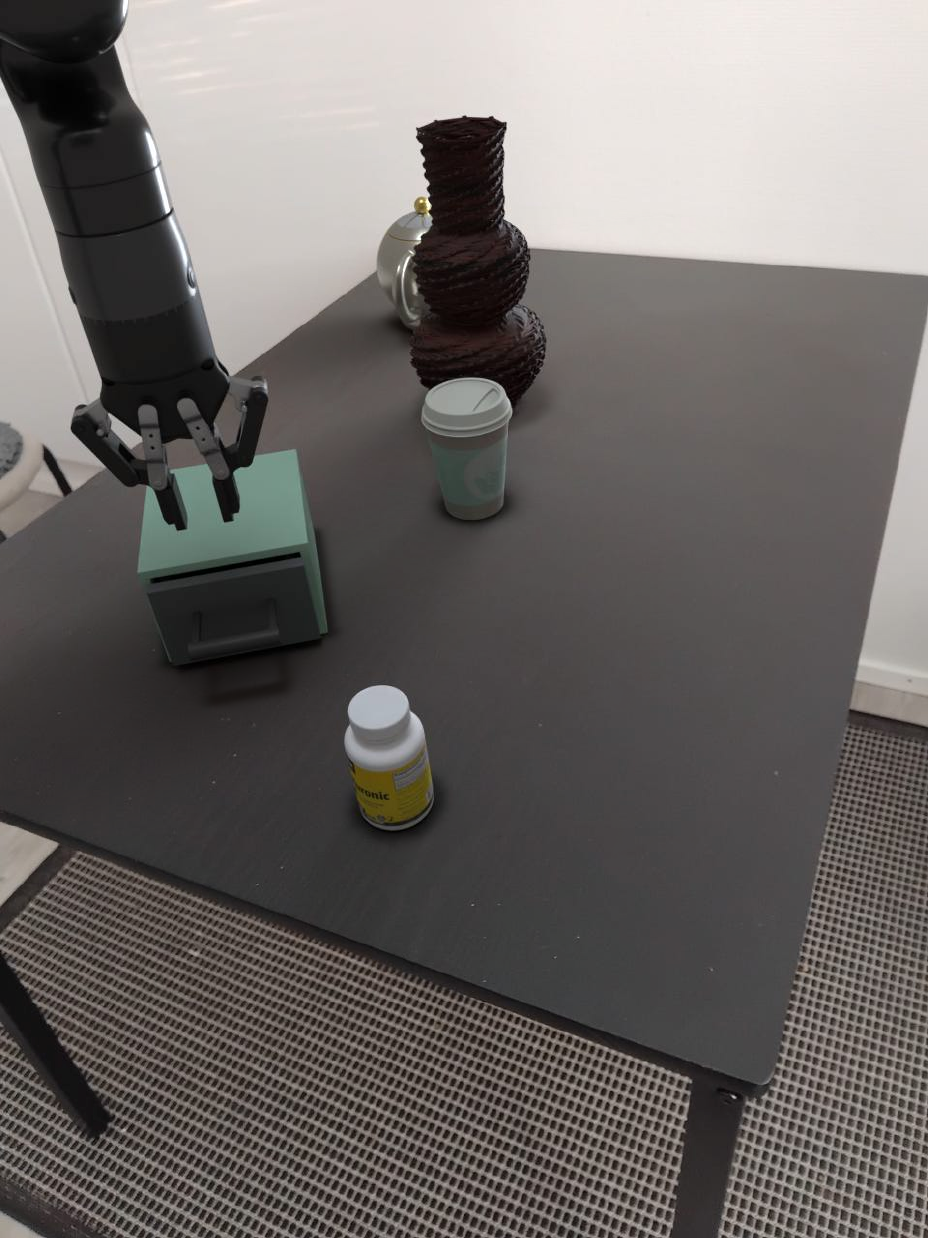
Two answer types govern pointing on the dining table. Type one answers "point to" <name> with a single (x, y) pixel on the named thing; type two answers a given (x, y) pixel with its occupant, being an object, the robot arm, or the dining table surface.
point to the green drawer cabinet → (233, 525)
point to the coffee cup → (469, 444)
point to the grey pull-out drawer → (234, 608)
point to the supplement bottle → (388, 759)
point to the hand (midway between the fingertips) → (205, 519)
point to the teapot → (404, 263)
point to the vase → (472, 265)
